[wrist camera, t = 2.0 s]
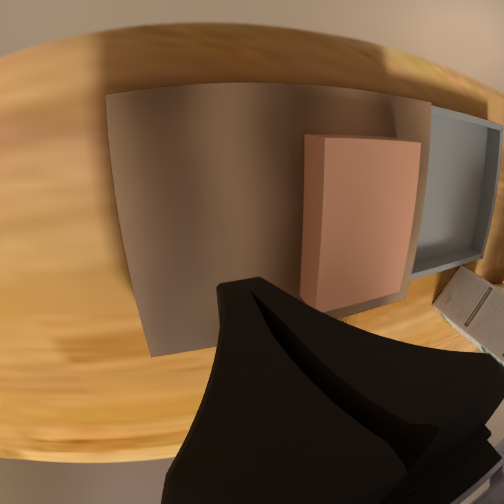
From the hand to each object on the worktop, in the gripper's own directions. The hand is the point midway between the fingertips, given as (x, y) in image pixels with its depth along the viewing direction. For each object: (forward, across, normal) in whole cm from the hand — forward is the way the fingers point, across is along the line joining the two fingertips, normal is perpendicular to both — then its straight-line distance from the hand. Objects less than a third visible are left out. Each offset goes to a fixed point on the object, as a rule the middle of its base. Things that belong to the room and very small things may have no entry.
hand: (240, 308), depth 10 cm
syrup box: (+11, -27, +12) cm, 32 cm away
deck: (+10, -5, 0) cm, 11 cm away
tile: (+6, -8, 0) cm, 10 cm away
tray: (+10, -21, 0) cm, 23 cm away
